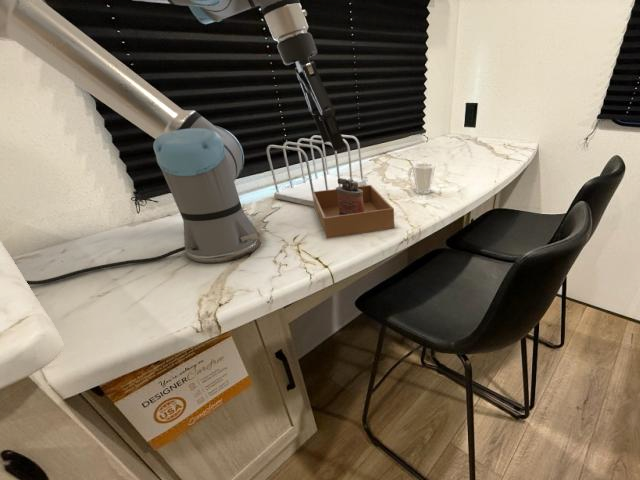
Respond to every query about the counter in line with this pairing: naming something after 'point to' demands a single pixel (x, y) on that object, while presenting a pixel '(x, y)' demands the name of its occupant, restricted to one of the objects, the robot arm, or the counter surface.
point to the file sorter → (325, 182)
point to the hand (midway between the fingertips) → (333, 144)
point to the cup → (422, 177)
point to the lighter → (349, 197)
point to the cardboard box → (372, 219)
